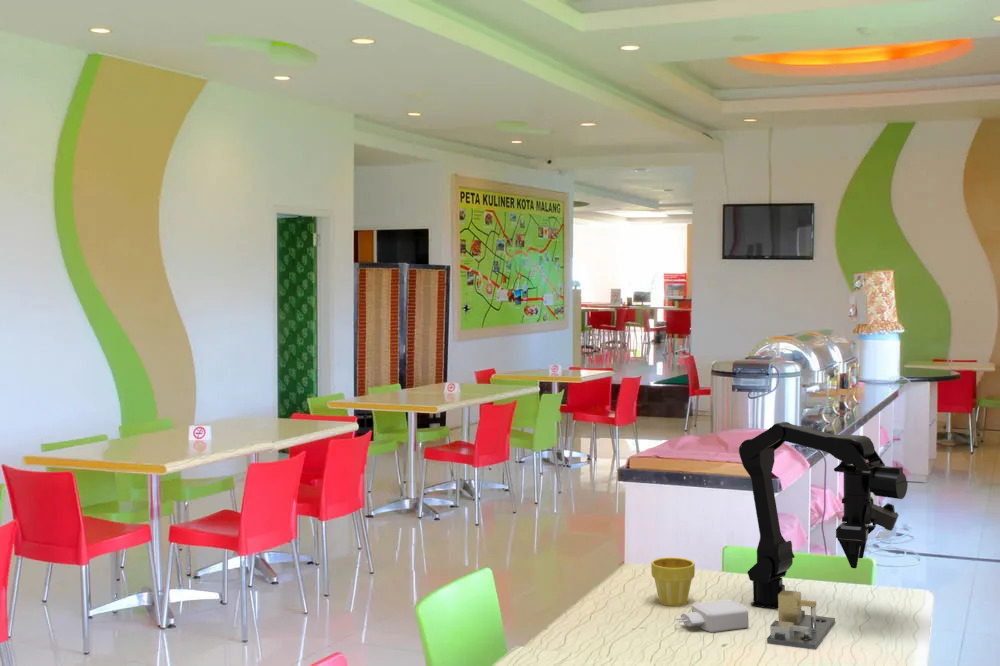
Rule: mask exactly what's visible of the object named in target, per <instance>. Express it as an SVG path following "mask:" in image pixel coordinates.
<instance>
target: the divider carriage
mask: <svg viewBox="0 0 1000 666" xmlns="http://www.w3.org/2000/svg"><path fill="white" fill-rule="evenodd" d="M802 607H806V608H807V607H809V608H810V615H811V628H812V629H816V616H817V611H816V610H817V608H816V607H817V601H816V600H807V599H802V592H801V591H795V590H787V589H785V590H782V591H781V592H780V593H779V594H778V621H784V622H792V623H794V624H798V623H799V622H800V621H801V619H802V614H801V610H802Z"/></svg>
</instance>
